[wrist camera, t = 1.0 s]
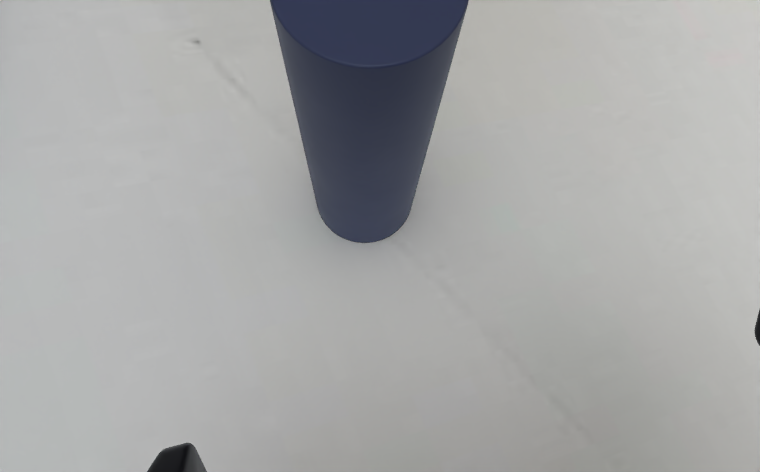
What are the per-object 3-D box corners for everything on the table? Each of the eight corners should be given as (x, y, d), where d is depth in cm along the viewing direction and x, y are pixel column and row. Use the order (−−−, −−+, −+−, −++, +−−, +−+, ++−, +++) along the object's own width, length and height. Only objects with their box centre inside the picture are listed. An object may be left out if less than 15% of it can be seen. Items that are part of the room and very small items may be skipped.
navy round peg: (429, 215, 24) (508, 15, 11) (344, 260, 23) (326, 101, 10) (382, 137, 24) (407, -131, 12) (299, 178, 24) (232, -59, 11)
